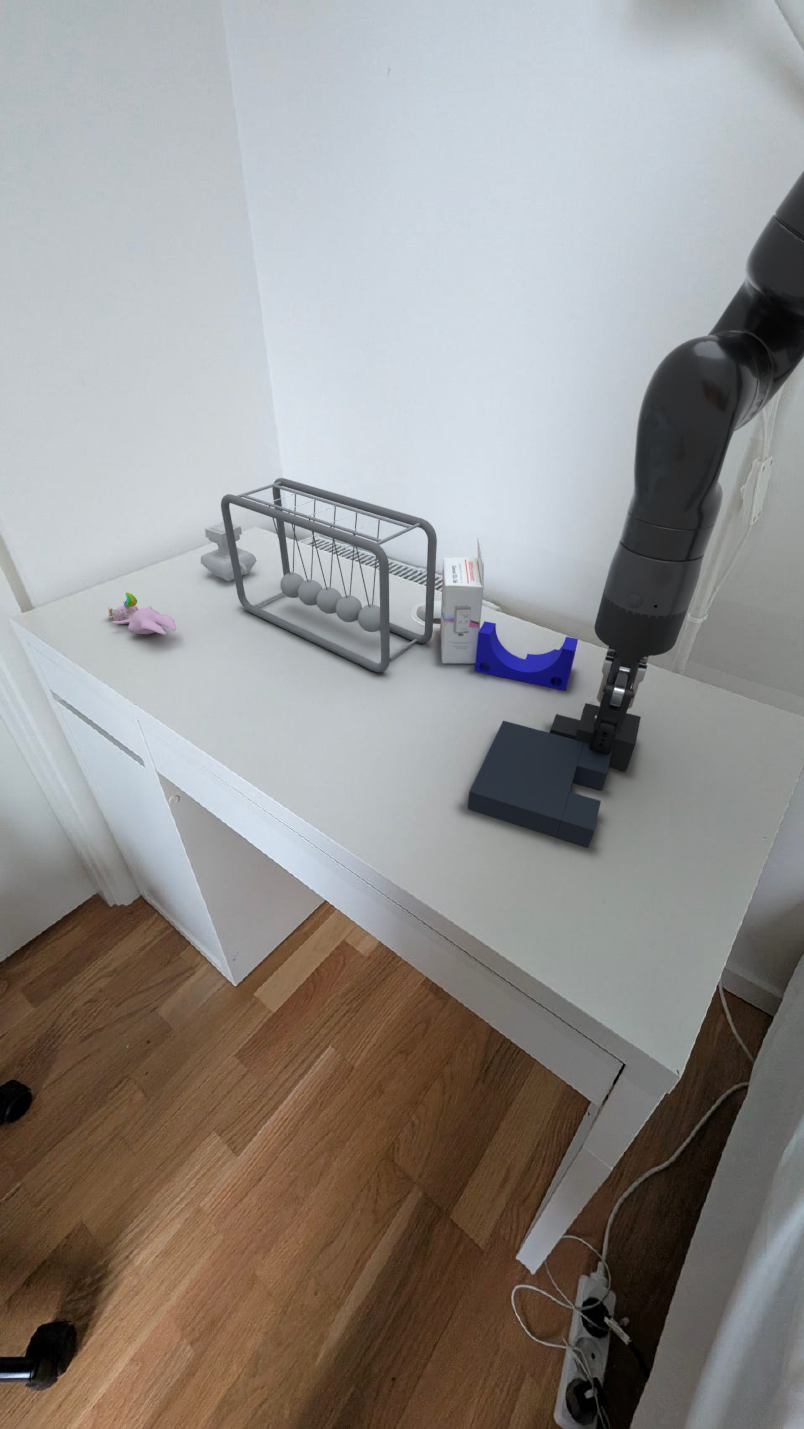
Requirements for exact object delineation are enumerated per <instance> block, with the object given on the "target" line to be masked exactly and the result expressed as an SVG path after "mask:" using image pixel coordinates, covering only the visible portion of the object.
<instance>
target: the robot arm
mask: <svg viewBox="0 0 804 1429" xmlns="http://www.w3.org/2000/svg"><path fill="white" fill-rule="evenodd" d="M803 359H804V169H803V170H802V171H801V173H800V174H799V175H798V177H797V179H796V180H795V181H794V183H793V184H792V186H791V188H789V190H788V192H787V193H786V195H785V196H784V198H783V199H782V200H781V202H780V204H779V205H778V206H777V208H776V210H775V211H774V214H772V216H771V217H770V218H769V220H768V221H767V222H766V224H765V226H764V227H763V229H762V230H761V232H760V233H759V235H758V237H757V239H756V240H755V241H754V244H753V246H752V248H751V249H750V251H749V253H748V256H747V258H746V262H745V278H744V281H742V283H741V285H740V287H739V288H738V289H737V291H736V293H735V294H734V295H733V297H732V298H731V300H730V302H729V303H728V304H727V306H726V307H725V310H724V311H723V312H722V314H721V315H720V317H719V319H717V321H716V323H715V324H714V326H713V327H712V328H711V329H710V331H709V332H708V334H707V335H702V336H697V337H694V338H690V339H688V340H685V341H684V342H682V343H680V344H679V345H677V346H675V347H674V348H673V349H671V350H670V351H669V352H668V353H667V354H666V355H665V356H664V357H663V359H662V360H661V361H660V363H658V365H657V366H656V368H655V370H654V371H653V373H652V375H651V377H650V379H649V382H648V384H647V386H646V389H645V392H644V393H643V394H644V395H643V397H642V401H641V403H640V404H641V405H640V408H639V412H638V419H637V425H636V434H635V448H634V460H633V461H634V462H633V489H632V490H633V491H632V495H631V497H630V500H629V504H628V506H627V507H628V508H627V511H626V514H625V519H624V521H623V522H624V523H623V526H622V530H621V534H620V537H619V541H618V544H617V547H616V549H615V552H614V554H613V556H612V559H611V562H610V565H609V568H608V572H607V576H606V579H605V583H604V588H603V591H602V595H601V599H600V603H599V607H598V612H597V615H596V619H595V623H594V633H595V635H596V637H597V638H598V640H600V642H602V643H603V644H604V645H605V646H607V651H606V655H605V658H604V661H603V665H602V668H601V673H602V678H601V682H600V685H599V689H598V692H597V695H596V700H597V701H598V703H599V706H600V707H599V710H598V714H597V715H595V719H594V723H593V725H594V728H593V729H594V731H593V734H592V738H591V741H590V745H589V749H590V750H591V751H594V752H598V753H602V754H605V755H608V754H610V752H611V749H612V746H613V743H614V740H615V737H616V735H619V733H620V732H621V731H622V728H623V727H622V724H623V721H624V719H625V716H626V713H628V710H629V709H631V708H632V707H633V705H634V702H635V698H636V694H637V692H638V688H639V685H640V683H642V682H643V681H644V679H645V676H646V672H647V668H648V664H647V663H648V661H649V657H651V656H652V657H654V656H660V655H663V654H666V653H667V652H670V651H671V650H672V649H673V648H674V646H675V645H676V643H677V641H678V638H679V635H680V632H681V629H682V626H683V624H684V621H685V619H686V615H687V613H688V610H689V607H690V604H691V601H692V599H693V596H694V593H695V591H696V588H697V585H698V583H699V579H700V576H701V569H702V565H703V560H704V558H705V554H706V551H707V548H708V546H709V543H710V540H711V537H712V534H713V532H714V528H715V526H716V523H717V520H718V517H719V514H720V510H721V507H722V503H723V496H724V492H723V487H722V485H721V484H720V482H719V479H720V477H721V473H722V470H723V466H724V463H725V459H726V456H727V453H728V450H729V447H730V444H731V440H732V438H733V435H734V433H735V432H736V431H738V430H740V429H742V428H743V427H745V426H746V425H747V424H749V423H750V422H751V421H752V420H754V418H755V417H756V416H757V415H759V413H760V412H762V410H764V408H765V407H766V406H767V405H768V404H769V403H770V401H771V400H772V399H773V398H774V397H775V396H776V394H777V393H778V392H779V391H780V390H781V388H782V387H783V386H784V385H785V383H786V382H787V381H788V380H789V378H790V377H791V375H792V374H793V373H794V371H795V370H796V369H797V367H798V366H799V365H800V363H801V361H802V360H803Z"/></svg>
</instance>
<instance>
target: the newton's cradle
mask: <svg viewBox="0 0 804 1429" xmlns="http://www.w3.org/2000/svg"><path fill="white" fill-rule="evenodd" d="M270 488H271V489H272V498H273V500H271V501H265V500H263V499H259V498H256V497H253V496H250V495H253V494H255V493H259V492H262V491H266V490H269V489H270ZM281 490H282V491H285V492H288V493H292V494H289V495H286V496H283V497H281V496H282V494H281ZM293 495H294V506H292V507H290V508H287V507H284V506H283V504H282V499H285V498H288V497H291V496H293ZM297 495H299V496H301V497H304V498H308V499H311V500H308V501H306V502H304V503H300V504H297ZM220 501H221V502H220V511H221V516H222V522H224V526H225V532H226V537H227V542H228V547H229V553H230V558H231V563H232V568H233V574H234V579H233V580H234V584H235V590H236V594H237V597H238V601H239V603H240V604H241V606H242V607H243V608H244V610H246V611H247V612H249V613H251V614H253V615H255V616H257V617H258V618H259V617H260V618H261V619H263V620H266V621H268V622H270V623H272V624H274V625H276V626H278V627H280V628H282V629H285V630H286V631H288V632H291V633H293V634H295V635H296V636H299V637H300V638H301V637H302V638H303V639H305V640H307V641H310V642H311V643H313V644H316V645H318V646H320V647H322V648H324V649H326V650H328V651H330V652H333V653H335V654H337V655H339V656H341V657H343V658H345V659H347V660H350V661H351V662H354V663H355V664H358V665H360V666H362V667H364V668H365V669H368V670H370V671H371V672H375V673H384V672H385V671H387V670H388V668H389V666H390V663H391V662H390V661H391V659H392V658H394V657H395V656H397V655H399V654H400V653H401V652H403V651H405V650H406V649H407V648H409V647H411V646H412V645H414V644H415V643H418V644H426V643H428V642H429V641H430V640H431V639H432V637H433V632H434V613H435V612H434V611H435V590H436V572H437V571H436V568H437V546H438V539H437V532H436V530H435V528H434V526H433V525H432V524H431V522H429V521H428V520H426V519H424V518H422V517H418V516H416V515H415V516H414V515H411V514H407V513H405V512H401V511H397V510H394V509H391V508H387V507H384V506H380V505H376V504H373V503H370V502H367V501H364V500H360V499H356V498H353V497H350V496H346V495H343V494H339V493H336V492H333V491H329V490H325V489H322V488H319V487H317V486H316V487H315V486H312V485H309V484H305V483H301V482H298V481H294V480H292V479H288V478H285V477H279V478H277V479H275V480H274V482H273V483H271V484H268V485H265V486H262V487H259V488H256V489H252V490H249V491H246V492H243V493H240V494H237V495H234V494H231V493H230V494H229V493H227V494H225V495H223V496H222V498H221V500H220ZM316 501H318V502H321V503H325V504H327V505H331V506H329V507H328V508H325V509H322V510H320V511H317V512H316ZM311 502H314V503H313V513H312V514H309V515H308V514H305V513H301V512H299V511H297V510H296V508H297V507H299V506H302V505H305V504H309V503H311ZM230 504H232V505H235V506H238V507H241V508H244V509H247V510H250V511H252V512H255V513H258V514H261V515H264V516H267V517H270V518H271V519H272V522H273V525H274V529H275V531H276V535H277V538H278V544H279V545H278V546H279V552H280V559H281V566H282V574H283V576H282V577H281V579H280V583H279V584H280V585H279V587H280V590H281V592H279V593H277V594H275V595H272V596H271V597H269V598H267V599H264V600H262V601H261V602H258V603H256V604H254V605H253V604H251V603H250V602H249V600H248V598H247V596H246V592H245V586H244V581H243V575H241V569H240V564H239V558H238V553H237V548H238V547H237V543H236V542H237V541H235V536H234V530H233V525H232V524H233V521H232V514H231V509H230ZM337 507H338V508H341V509H344V510H347V511H351V512H353V513H351V514H348V515H346V516H344V517H341V518H339V519H336V511H337ZM332 508H334V509H333V510H334V512H333V521H331V522H329V521H326V520H323V519H320V518H316V514H320V513H322V512H325V511H327V510H329V509H332ZM292 509H294V510H292ZM358 514H360V515H363V516H367V517H370V518H373V519H376V520H373V521H371V522H368V523H367V524H365V525H361V526H359V527H357V522H358V521H357V520H358ZM352 515H355V521H354V522H355V523H354V529H351V528H347V527H344V526H342V525H339V524H336V522H338V521H340V520H342V519H346V518H347V517H350V516H352ZM377 521H378V522H377ZM380 521H383V522H387V523H390V524H391V525H392V524H393V525H396V526H399V527H402V528H403V529H402V530H400V531H398V532H396V533H394V534H392V535H389V536H387V537H385V538H382V539H381V538H379V536H380V524H381V522H380ZM375 522H377V534H376V535H377V536H376V537H375V536H373V535H368V534H367V533H362V532H359V531H358V530H359V529H361V528H364V527H366V526H369V525H371V524H372V523H375ZM285 523H287V524H290V525H291V527H292V528H291V529H292V531H293V547H292V548H293V549H292V555H293V556H292V571H291V568H290V560H289V553H288V543H287V537H286V535H287V534H286V528H285ZM296 527H299V528H302V529H304V530H307V531H310V532H311V535H312V542H311V564H310V578H309V579H308V576H307V572H306V568H305V564H304V561H303V557H302V553H301V550H300V545H299V543H298V539H297V538H298V537H297V535H296ZM417 528H418V529H421V530H423V531H424V532H425V535H426V537H427V555H426V582H425V583H426V585H425V588H426V589H425V607H424V608H425V611H424V632H423V634H419V633H416V632H414V631H412V630H409V629H406V628H404V627H402V626H399V625H397V624H396V623H392V622H390V563H389V558H388V555H387V553H386V551H385V549H384V548H383V547H382V546H381V545H383V544H385V543H387V542H389V541H391V540H394V539H395V538H397V537H399V536H400V537H401V536H402V535H403V534H406V533H408V532H410V531H412V530H414V529H417ZM315 533H316V534H319V535H322V536H324V537H326V538H327V537H328V538H330V539H332V542H331V544H332V545H331V557H330V558H331V559H330V576H329V586H327V583H326V578H325V575H324V571H323V566H322V563H321V562H322V561H321V558H320V555H319V549H318V546H317V541H316V538H315ZM336 541H340V542H342V543H344V544H347V545H351V546H353V548H352V559H351V569H350V570H351V571H350V583H349V594H347V591H346V586H345V582H344V578H343V572H342V568H341V563H340V559H339V555H338V550H337V546H336ZM295 542H296V546H297V550H298V553H299V557H300V560H301V564H302V567H303V572H304V575H305V578H306V580H305V579H304V577H303V576H302V575H301V574H299V573H296V572H295ZM314 547H315V550H316V553H317V558H318V562H319V566H320V571H321V575H322V578H323V583H324V586H325V588H323V586H322V585H321V584H320V583H319V581H316V580H314V579H313V564H314V560H313V559H314ZM358 548H359V549H362V550H365V551H368V552H371V553H372V554H374V556H375V562H374V572H373V588H372V599H371V603H370V601H369V597H368V591H367V588H366V587H367V586H366V582H365V578H364V573H363V568H362V562H361V559H360V555H359V549H358ZM334 550H335V554H336V559H337V563H338V568H339V572H340V578H341V582H342V586H343V590H344V596H342V594H341V593H340V591H339V590H337V589H336V588H334V587H332V572H333V561H334V560H333V559H334ZM355 550H356V555H357V560H358V564H359V569H360V573H361V579H362V583H363V587H364V592H365V596H366V602H367V604H366V605H364V606H363V605H362V603H361V601H360V599H359V598H357V597H356V596H354V595H351V593H352V583H353V582H352V581H353V570H354V560H355V557H354V556H355ZM377 561H378V572H379V573H378V574H379V582H378V583H379V605H376V604H374V601H375V586H376V573H377ZM283 595H285V597H288V598H290V599H297V598H298V599H299V600H300V602H301V603H302V604H304V605H306V606H310V607H313V606H316V605H317V608H318V609H319V611H321V612H322V613H324V614H326V615H328V614H329V615H332V614H335V613H336V616H337V617H338V618H339V619H340V620H341V621H343V622H344V623H354V622H356V621H358V622H357V623H358V624H359V626H360V628H361V629H362V630H364V631H366V632H369V633H375V632H378V631H380V662H379V663H378V662H375V661H373V660H371V659H369V658H366V657H364V656H362V655H360V654H358V653H356V652H353V651H352V650H349V649H347V648H345V647H343V646H341V645H339V644H336V643H335V642H332V641H330V640H328V639H325V638H324V637H321V636H320V635H317V634H315V633H313V632H311V631H309V630H306V629H304V628H303V627H300V626H298V625H296V624H293V623H292V622H290V621H288V620H286V619H283V618H282V617H279V616H276V615H274V614H272V613H270V612H268V611H265V610H264V609H262V608H259V607H260V606H262V605H264V604H266V603H268V602H270V601H273V600H274V599H277V598H279V597H281V596H283ZM390 632H392V633H394V634H396V635H398V636H401V637H403V638H406V639H408V640H410V642H408V643H407V644H406V645H404V646H402V647H400V648H399V649H398V650H396V651H394V652H393V653H391V652H390V651H391V647H390V646H391V644H390V643H391V642H390V641H391V640H390Z"/></svg>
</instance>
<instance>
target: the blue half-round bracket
mask: <svg viewBox="0 0 804 1429" xmlns="http://www.w3.org/2000/svg"><path fill="white" fill-rule="evenodd" d="M496 625H497V623H495V622H491V621H486V620H485V621H483V623H482V624H481V626H480V630H479V633H478V643H477V653H476V663H474V664H475V665H474V672H476V673H479V674H480V673H482V674H484V675H490V676H494V677H499V678H503V679H508V680H513V681H518V682H522V683H527V684H531V685H536V686H541V687H545V688H550V689H555V690H559V691H564V692H566V691H567V687H568V684H569V680H570V676H571V674H572V669H573V665H574V661H575V655H576V650H577V646H578V641H579V638H575V637H570V636H565V639H564V641H563V643H562V645H561V646H560V648H559V649H556V648H555V649H552V650H550V651H547V652H544V653H539V654H538V653H537V654H535V653H527V654H526V657H525V659H524V658H521V657H518V656H516V655H514V654H513V653H512V652H510V651H509V650H508V649H506V648H505V647H504V646H503V644H502V643H501V641H500V640H499V637H498V634H497V628H496V627H497V626H496Z"/></svg>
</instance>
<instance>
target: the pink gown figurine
mask: <svg viewBox="0 0 804 1429" xmlns="http://www.w3.org/2000/svg"><path fill="white" fill-rule="evenodd" d="M125 595H126V599H125V601H124V600H123V601H122V603H123V605H121V606H119V607H117V608H116V609H114V608H112V607H111V608H110V607H109V606H107V609H108V617H109V618H111V619H112V622H111V624H112V625H114V626H115V625H125V624H128V626H127V627H128V628H127V629H128V631H129V632H130V633H133V634H140V635H151V634H154V633H158V634H160V635H164V636H166V635H167V632H166V631H165V629H164V628H167V629H169V630H171V631H173V632H175V631H176V629H177V626H176V622H175V620H174V617H172V616H171V615H168V614H161V613H159V611H157V610H156V609H153V607H152V606H148V607H141V608H138V606H137V604H138V599H137V597H135V595H134V594H133V593H130V592H125ZM163 627H164V628H163Z"/></svg>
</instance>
